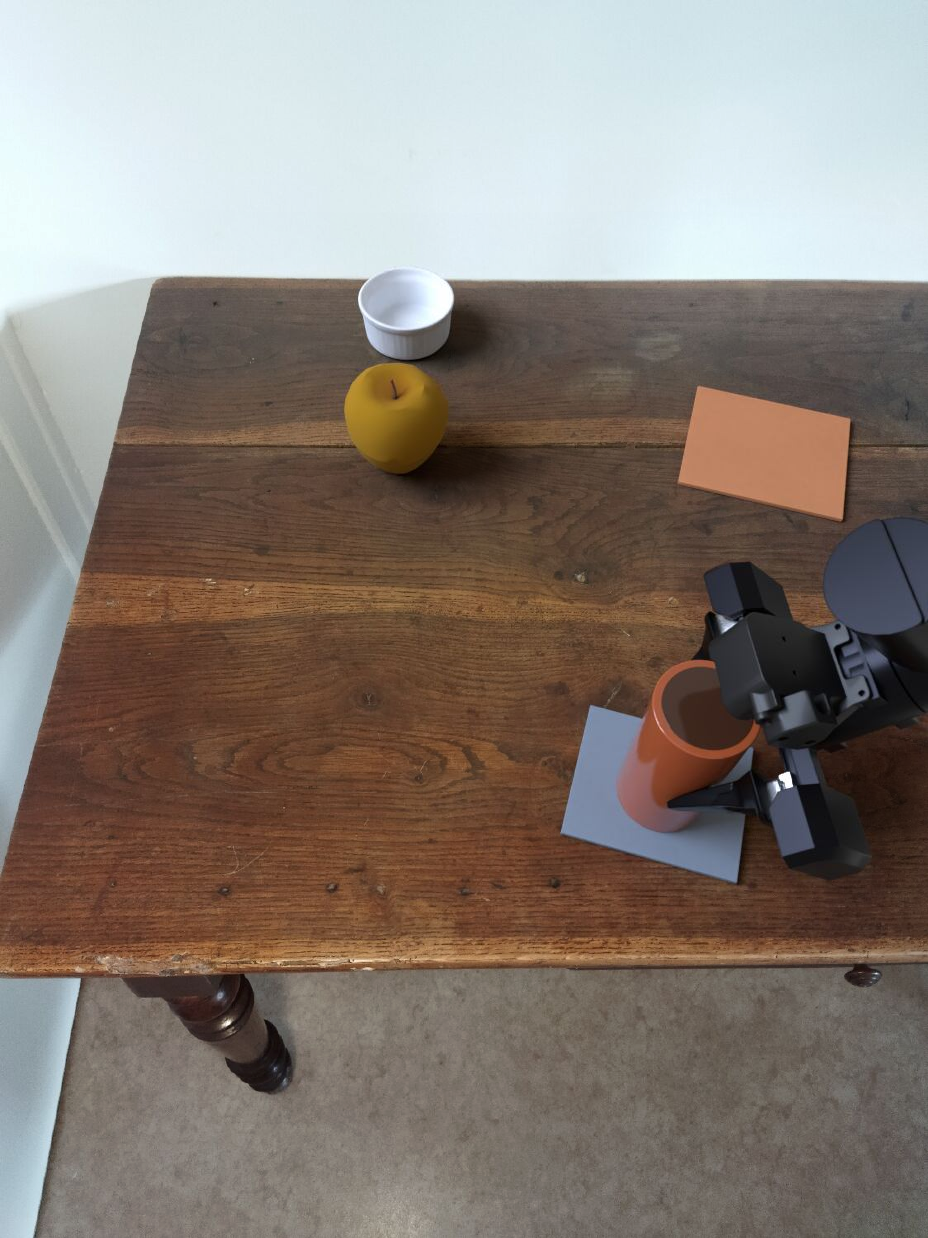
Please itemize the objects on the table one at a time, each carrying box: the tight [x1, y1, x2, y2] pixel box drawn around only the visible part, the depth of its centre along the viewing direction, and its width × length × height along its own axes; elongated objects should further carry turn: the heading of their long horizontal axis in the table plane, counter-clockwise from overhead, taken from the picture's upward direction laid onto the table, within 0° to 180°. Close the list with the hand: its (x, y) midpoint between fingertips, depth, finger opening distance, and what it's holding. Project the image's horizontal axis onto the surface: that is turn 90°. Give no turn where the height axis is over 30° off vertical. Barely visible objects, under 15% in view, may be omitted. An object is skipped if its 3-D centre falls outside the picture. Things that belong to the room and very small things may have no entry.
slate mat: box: [560, 704, 754, 885], centre depth 62 cm, size 12×10×1 cm
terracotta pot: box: [616, 660, 762, 832], centre depth 56 cm, size 6×6×14 cm
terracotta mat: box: [677, 385, 851, 523], centre depth 78 cm, size 14×12×1 cm
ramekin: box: [357, 266, 455, 361], centre depth 84 cm, size 9×9×4 cm
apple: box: [343, 362, 450, 475], centre depth 74 cm, size 8×8×9 cm
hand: (659, 757), depth 56 cm, fingers closed on terracotta pot, 6 cm apart
